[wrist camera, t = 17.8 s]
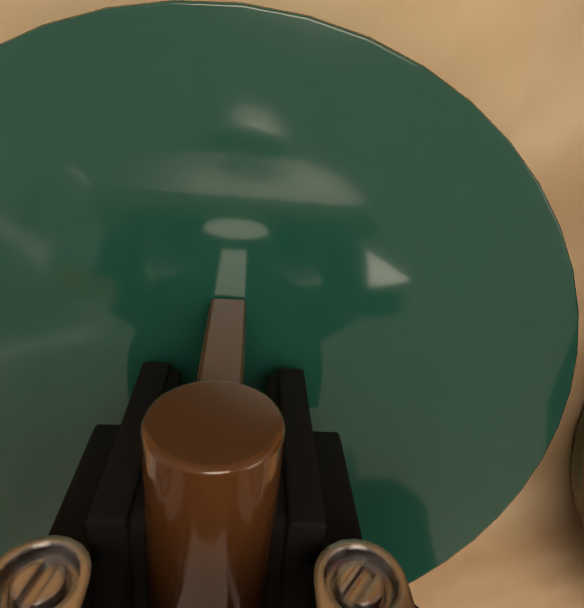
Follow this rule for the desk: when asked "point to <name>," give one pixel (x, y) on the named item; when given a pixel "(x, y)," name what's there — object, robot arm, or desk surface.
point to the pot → (578, 468)
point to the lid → (268, 283)
